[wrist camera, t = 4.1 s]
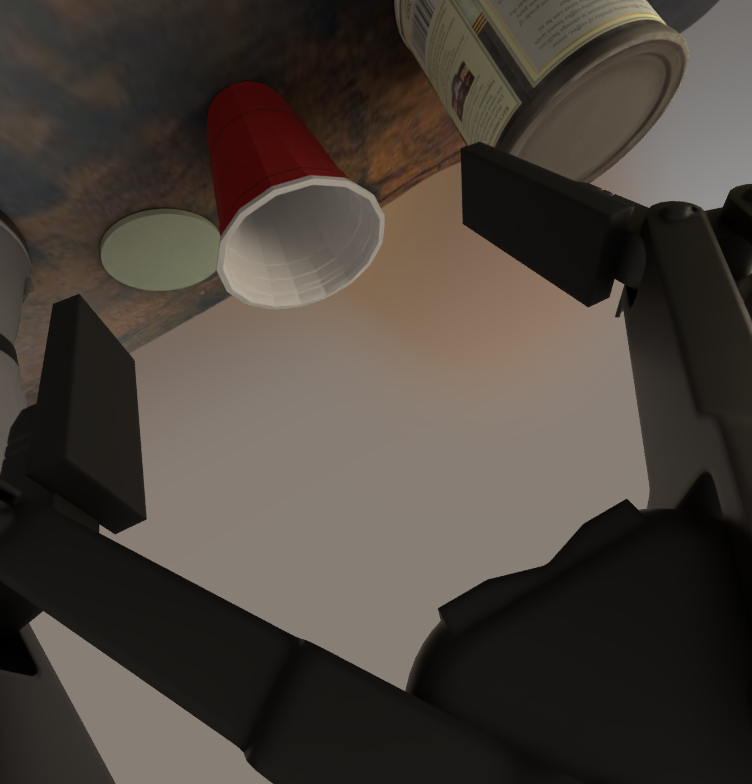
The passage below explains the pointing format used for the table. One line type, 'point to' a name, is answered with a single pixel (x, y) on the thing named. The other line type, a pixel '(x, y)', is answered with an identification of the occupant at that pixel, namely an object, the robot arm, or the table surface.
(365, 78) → the table surface
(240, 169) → the plastic cup
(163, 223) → the coaster
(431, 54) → the coffee can
